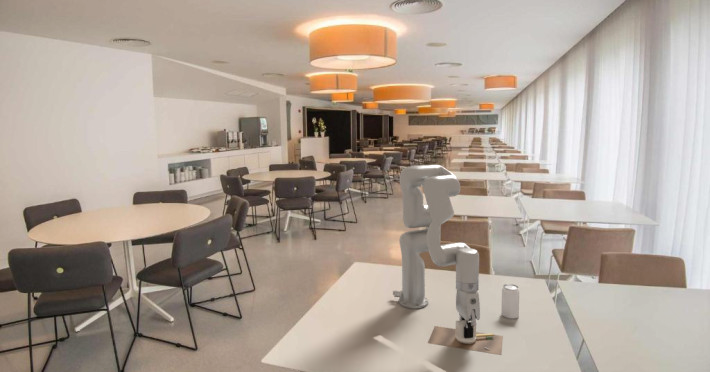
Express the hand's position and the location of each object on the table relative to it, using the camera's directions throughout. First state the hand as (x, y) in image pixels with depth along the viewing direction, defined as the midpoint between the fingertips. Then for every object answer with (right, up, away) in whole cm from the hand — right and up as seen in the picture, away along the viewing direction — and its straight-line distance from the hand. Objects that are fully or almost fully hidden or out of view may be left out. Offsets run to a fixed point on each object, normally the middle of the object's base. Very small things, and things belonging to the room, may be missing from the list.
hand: (466, 334), depth 147 cm
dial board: (0, -3, 0) cm, 3 cm away
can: (+23, 0, +21) cm, 31 cm away
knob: (+3, -1, 0) cm, 3 cm away
